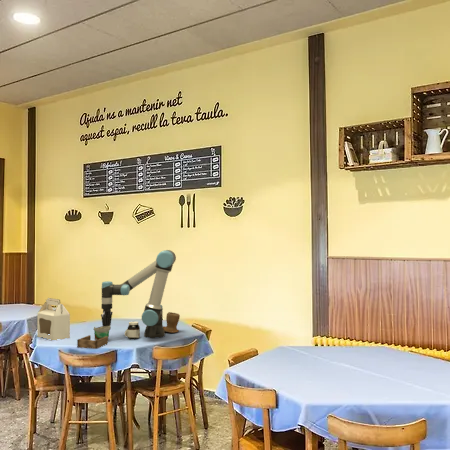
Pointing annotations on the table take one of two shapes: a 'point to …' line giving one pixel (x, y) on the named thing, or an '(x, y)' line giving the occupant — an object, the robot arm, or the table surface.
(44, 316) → the gable box
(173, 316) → the brown ankle boot
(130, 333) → the spread jar
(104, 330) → the food container
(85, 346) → the walnut pen
